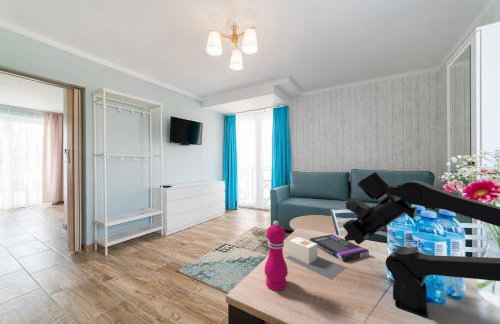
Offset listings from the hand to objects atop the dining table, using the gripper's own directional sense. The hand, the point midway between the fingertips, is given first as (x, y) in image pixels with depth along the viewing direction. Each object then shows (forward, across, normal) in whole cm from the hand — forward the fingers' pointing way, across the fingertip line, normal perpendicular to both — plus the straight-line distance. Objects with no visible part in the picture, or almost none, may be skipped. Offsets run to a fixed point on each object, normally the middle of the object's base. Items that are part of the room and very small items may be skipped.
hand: (345, 239), depth 65 cm
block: (+15, 0, -2) cm, 15 cm away
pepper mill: (+18, +21, 0) cm, 27 cm away
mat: (+17, 0, +1) cm, 17 cm away
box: (+18, -18, +1) cm, 25 cm away
